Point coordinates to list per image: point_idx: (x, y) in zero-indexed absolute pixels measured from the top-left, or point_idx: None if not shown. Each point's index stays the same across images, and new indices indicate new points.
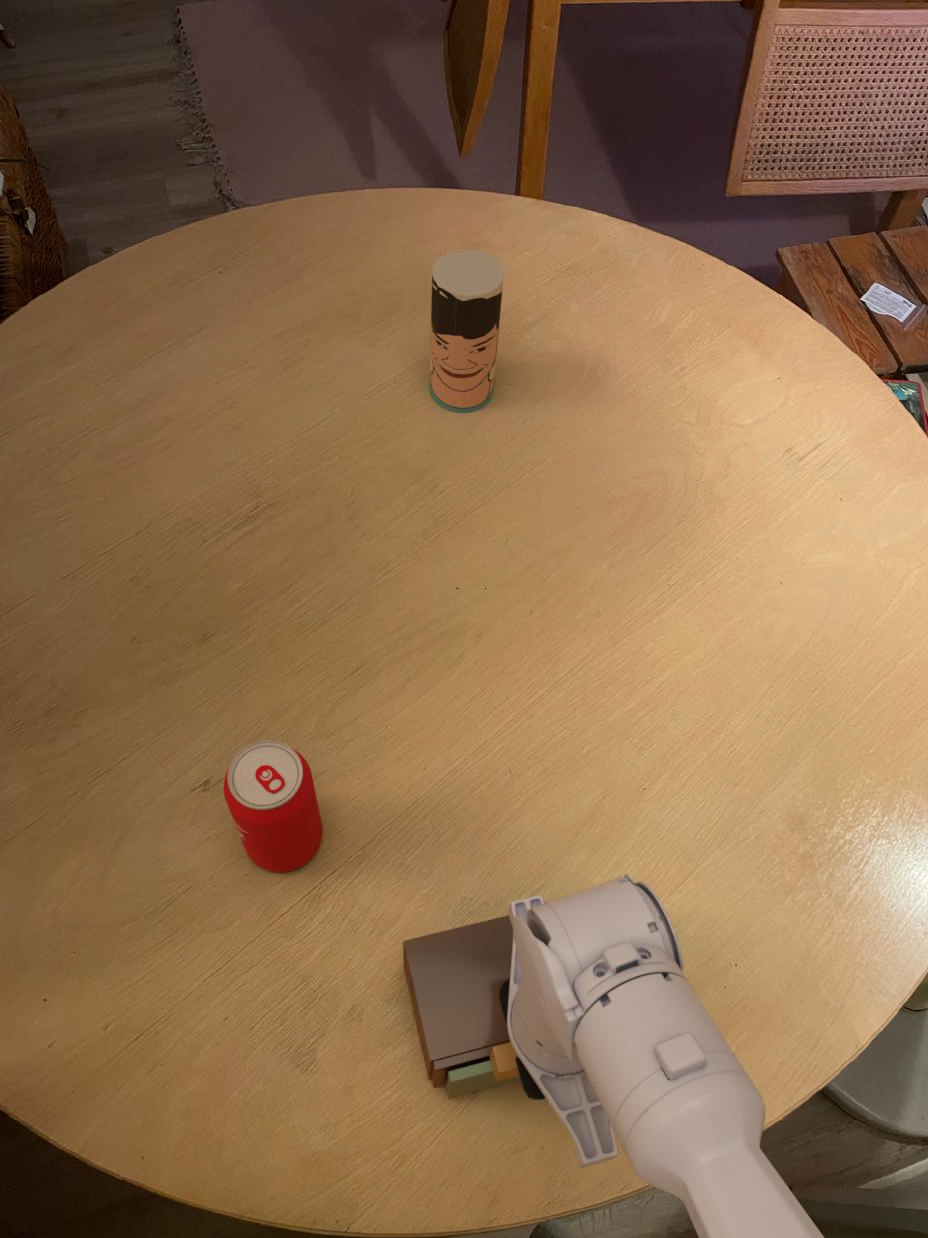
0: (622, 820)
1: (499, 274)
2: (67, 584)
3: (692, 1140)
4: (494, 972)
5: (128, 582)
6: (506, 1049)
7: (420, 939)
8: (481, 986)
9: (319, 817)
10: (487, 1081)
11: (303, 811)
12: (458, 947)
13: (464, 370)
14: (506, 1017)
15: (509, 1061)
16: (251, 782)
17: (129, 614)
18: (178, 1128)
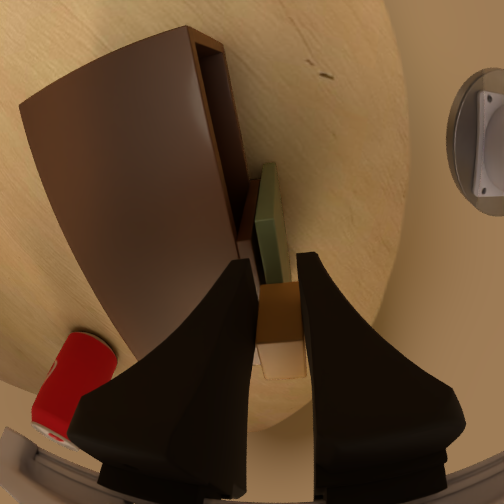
0: (14, 80)
1: None
2: (32, 384)
3: None
4: (153, 296)
5: (18, 368)
6: (271, 369)
7: (133, 351)
8: (174, 313)
9: (69, 356)
10: (288, 276)
11: (65, 412)
12: (131, 325)
13: None
14: (233, 498)
15: (291, 369)
16: (63, 442)
17: (29, 371)
18: (279, 400)
